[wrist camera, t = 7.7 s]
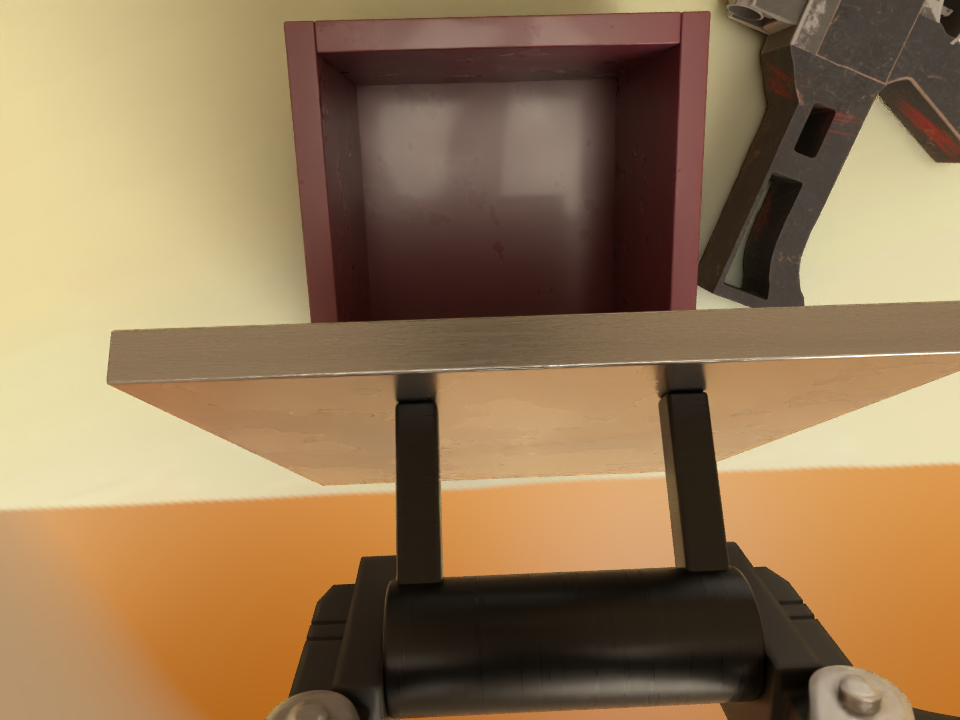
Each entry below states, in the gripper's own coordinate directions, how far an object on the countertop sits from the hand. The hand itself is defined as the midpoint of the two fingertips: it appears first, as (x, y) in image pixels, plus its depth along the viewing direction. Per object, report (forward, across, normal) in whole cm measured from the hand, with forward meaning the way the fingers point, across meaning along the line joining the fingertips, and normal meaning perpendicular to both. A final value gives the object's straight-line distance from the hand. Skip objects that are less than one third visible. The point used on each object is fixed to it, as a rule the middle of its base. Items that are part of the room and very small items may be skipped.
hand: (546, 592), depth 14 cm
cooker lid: (+5, 0, -2) cm, 5 cm away
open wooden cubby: (+21, 0, -4) cm, 22 cm away
